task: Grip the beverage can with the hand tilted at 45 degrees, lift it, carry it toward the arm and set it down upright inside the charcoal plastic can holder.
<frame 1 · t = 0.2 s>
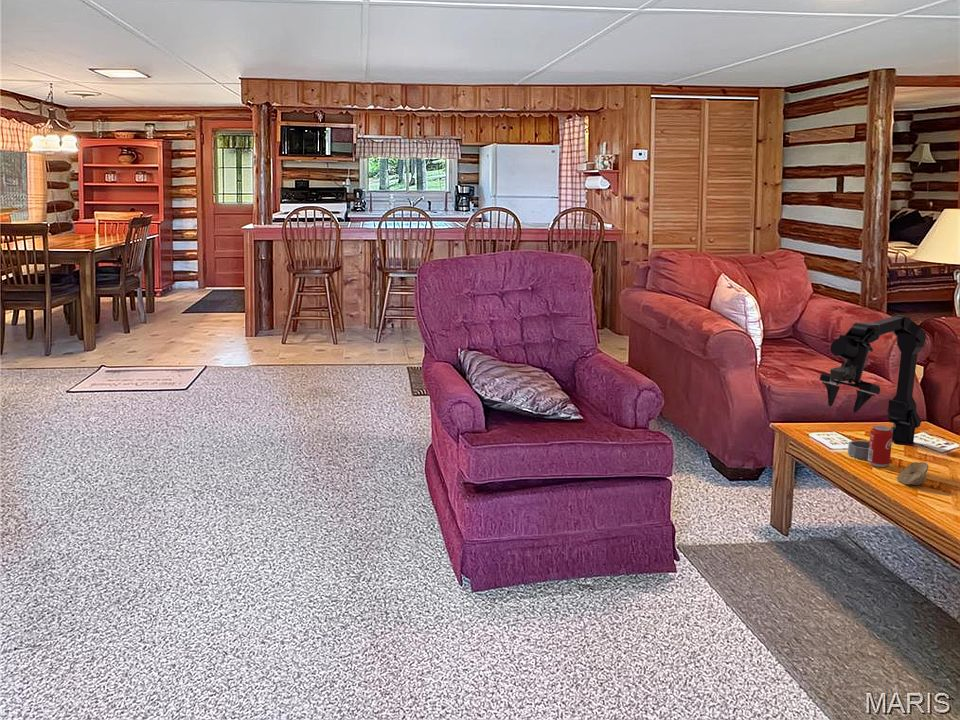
hand: (842, 409, 287), 15 cm above the table, tool tilted 15°, fingers open, 9 cm apart
can holder: (863, 456, 290), on the table
beverage can: (878, 465, 281), on the table
fossil: (911, 484, 263), on the table
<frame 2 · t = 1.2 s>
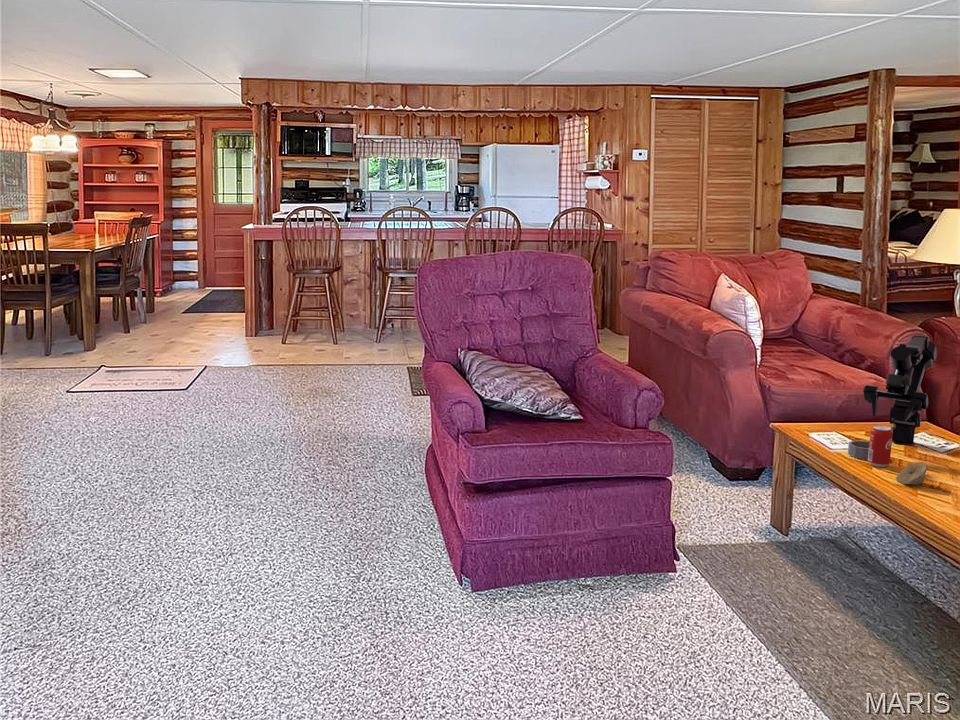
hand: (888, 418, 284), 13 cm above the table, tool tilted 45°, fingers open, 9 cm apart
nothing on the table moved.
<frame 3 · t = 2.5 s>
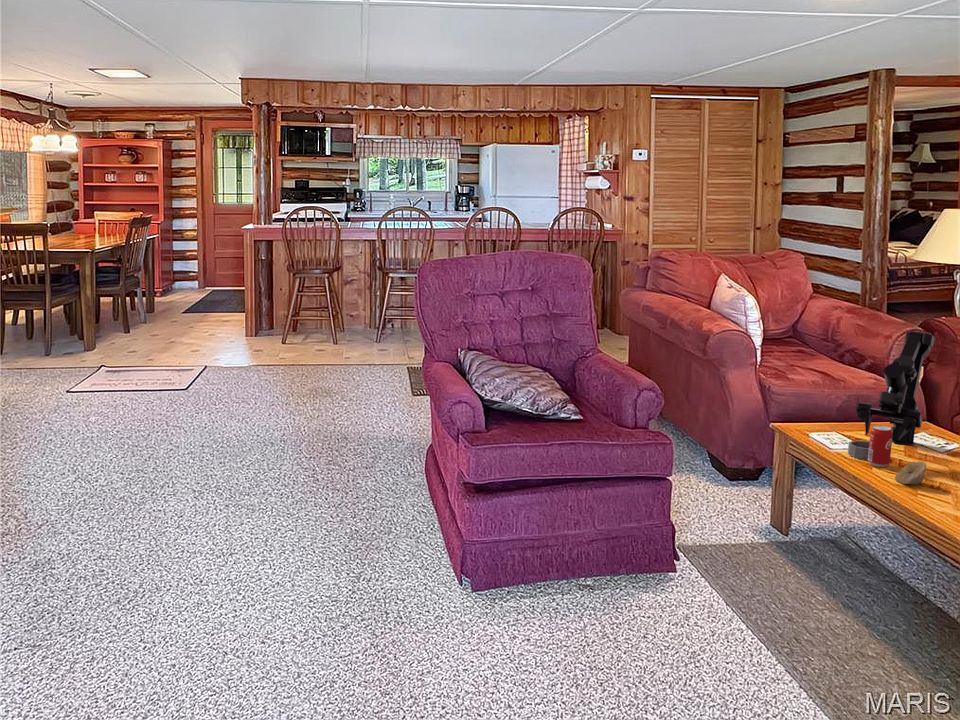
hand: (882, 436, 280), 9 cm above the table, tool tilted 45°, fingers open, 9 cm apart
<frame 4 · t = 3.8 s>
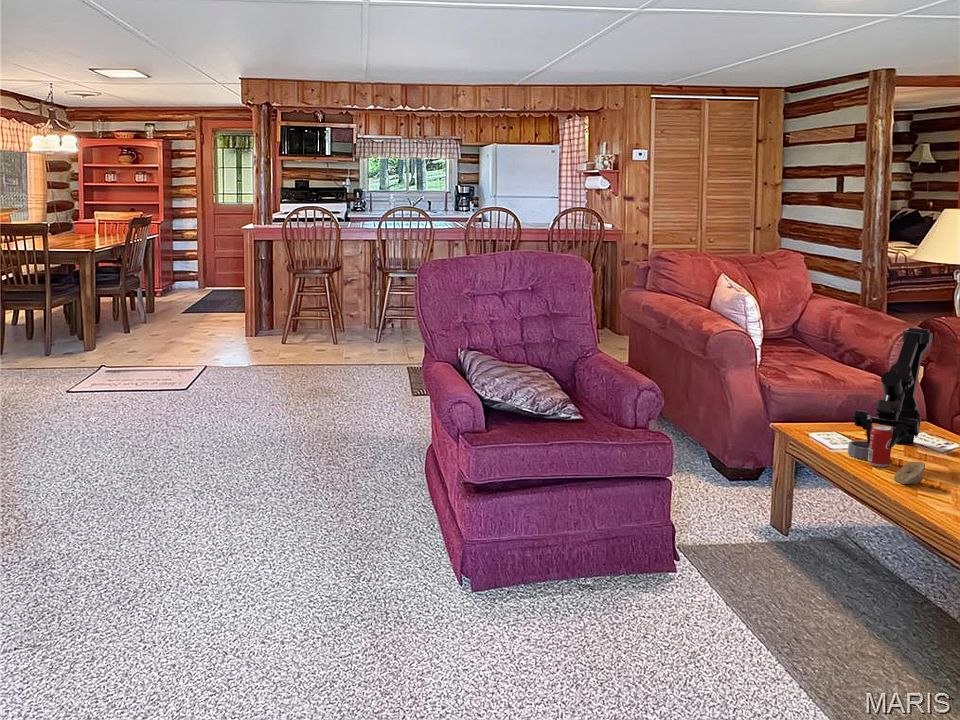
hand: (879, 445, 278), 7 cm above the table, tool tilted 45°, fingers closed on beverage can, 6 cm apart
beverage can: (878, 465, 281), on the table, touching gripper
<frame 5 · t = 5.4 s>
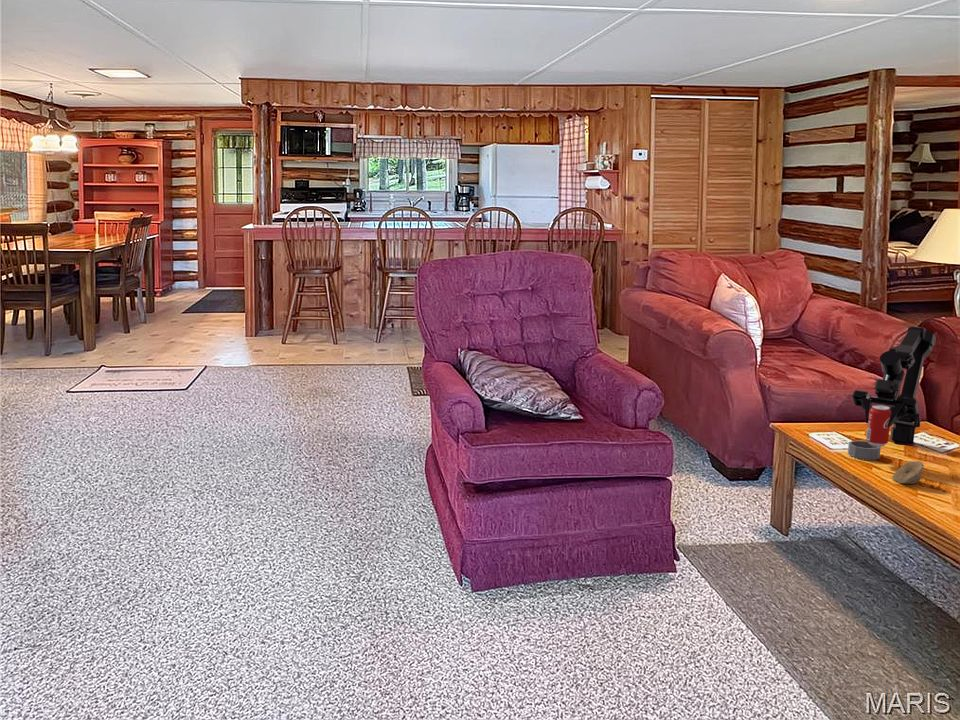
hand: (877, 424, 279), 13 cm above the table, tool tilted 45°, fingers closed on beverage can, 6 cm apart
beverage can: (876, 444, 282), point 6 cm above the table, touching gripper
when the fingers open (9 cm above the table, at t = 7.4 s): beverage can drops 1 cm, resting on can holder.
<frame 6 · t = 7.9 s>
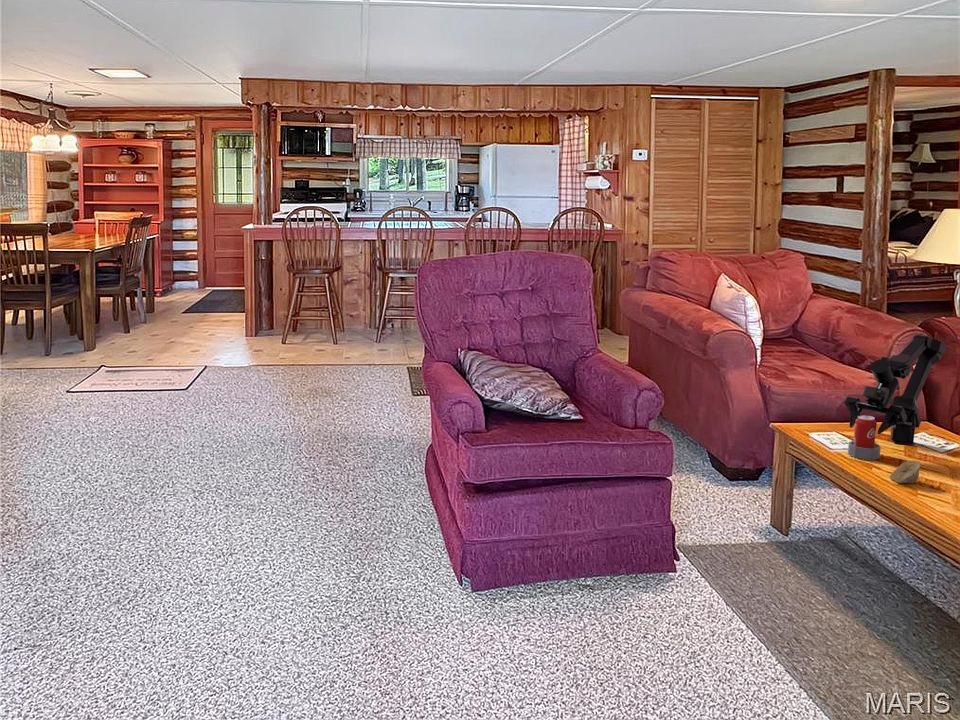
hand: (864, 430, 287), 9 cm above the table, tool tilted 45°, fingers open, 9 cm apart
beverage can: (862, 454, 290), point 1 cm above the table, touching can holder
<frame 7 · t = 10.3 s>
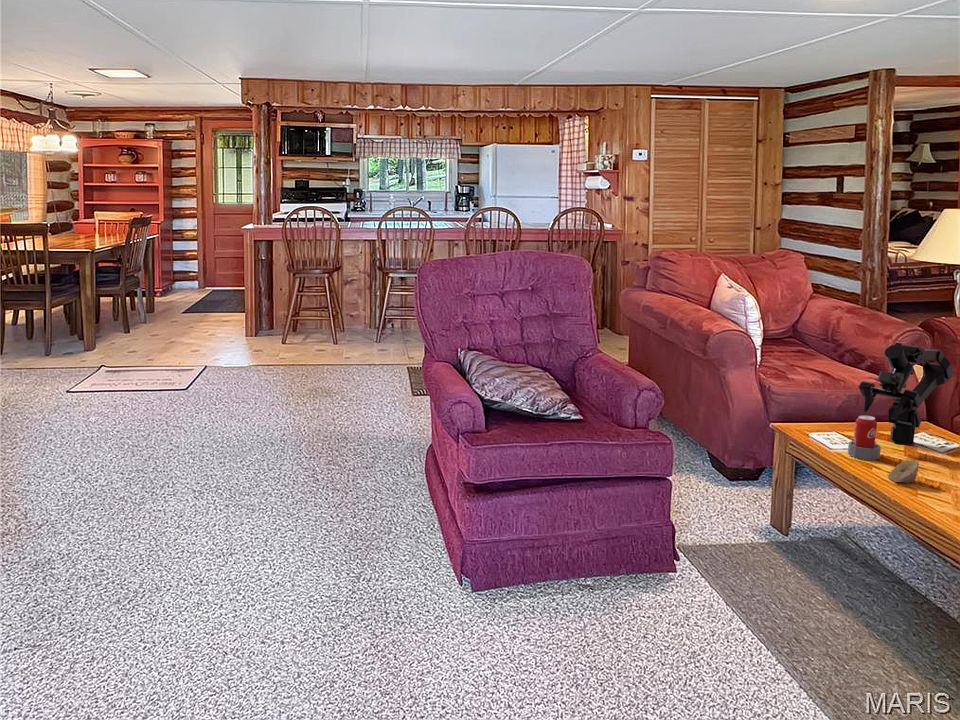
hand: (878, 414, 292), 13 cm above the table, tool tilted 45°, fingers open, 9 cm apart
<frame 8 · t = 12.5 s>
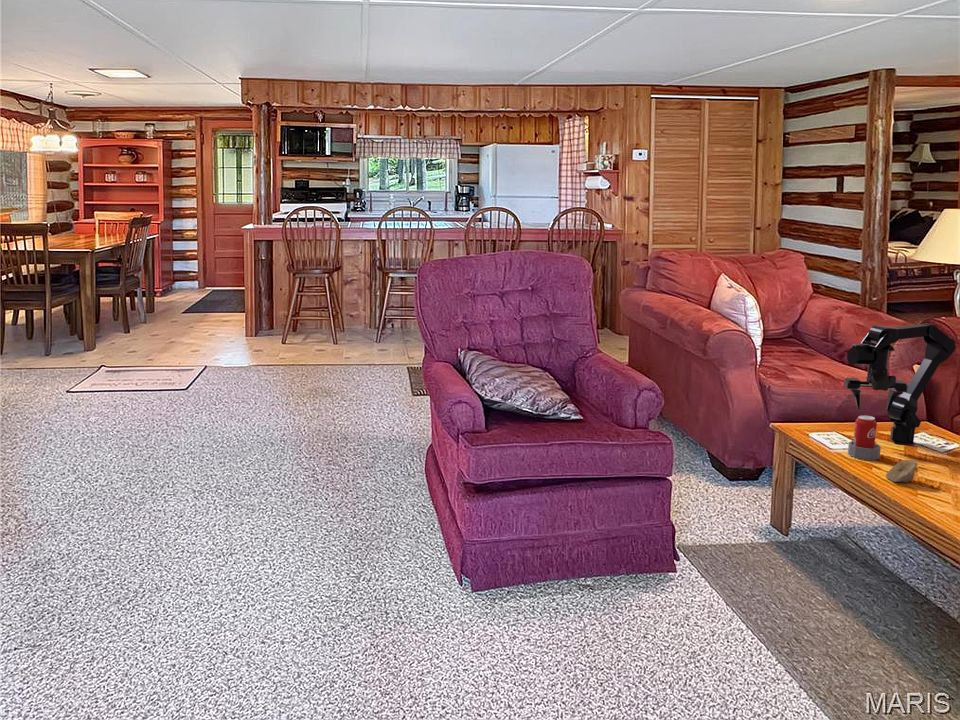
hand: (872, 409, 301), 12 cm above the table, tool pointing down, fingers open, 9 cm apart
at the end: beverage can 0.2 cm off-centre on the can holder, point 0.6 cm above the can holder's base; beverage can tilted 0°; the gripper is holding nothing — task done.
